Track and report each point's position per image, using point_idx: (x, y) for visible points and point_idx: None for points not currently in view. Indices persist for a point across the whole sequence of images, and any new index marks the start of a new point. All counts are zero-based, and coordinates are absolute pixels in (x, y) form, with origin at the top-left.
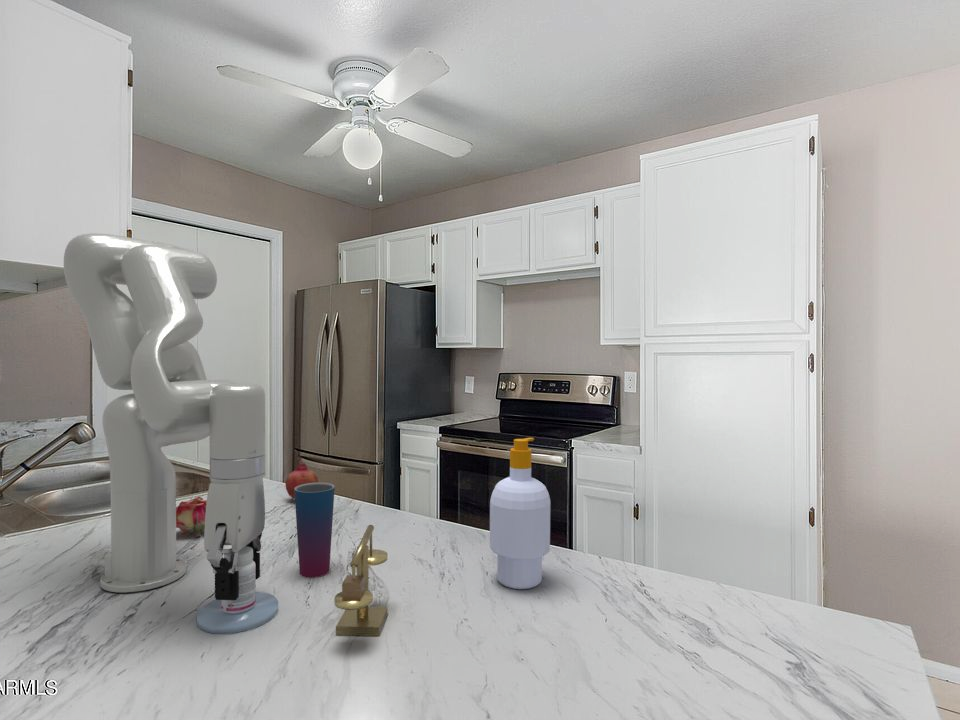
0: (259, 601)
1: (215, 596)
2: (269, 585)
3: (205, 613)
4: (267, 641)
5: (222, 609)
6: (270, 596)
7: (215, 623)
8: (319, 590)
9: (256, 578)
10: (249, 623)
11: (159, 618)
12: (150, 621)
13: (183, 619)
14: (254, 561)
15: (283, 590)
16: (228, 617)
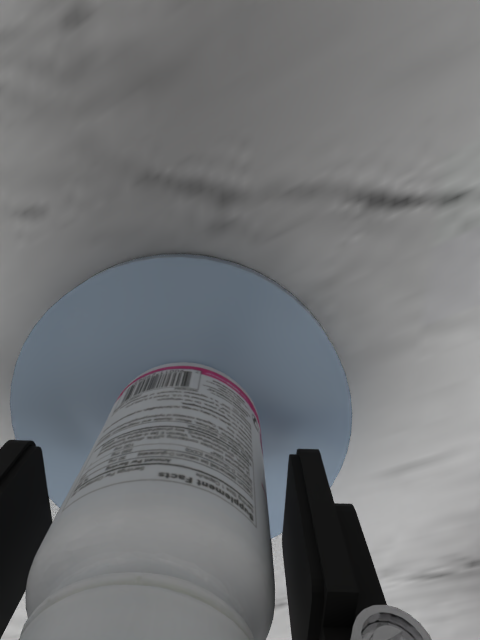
0: None
1: (5, 447)
2: (475, 429)
3: (116, 309)
4: None
5: (122, 391)
6: None
7: (32, 394)
8: None
9: (282, 541)
10: None
11: (120, 44)
12: (83, 9)
13: (124, 188)
14: (293, 635)
15: (411, 497)
16: (90, 423)
